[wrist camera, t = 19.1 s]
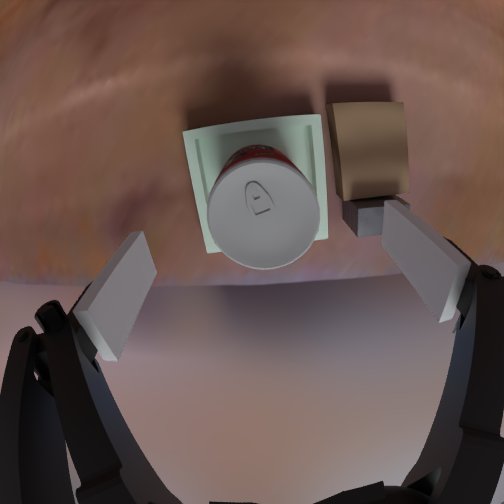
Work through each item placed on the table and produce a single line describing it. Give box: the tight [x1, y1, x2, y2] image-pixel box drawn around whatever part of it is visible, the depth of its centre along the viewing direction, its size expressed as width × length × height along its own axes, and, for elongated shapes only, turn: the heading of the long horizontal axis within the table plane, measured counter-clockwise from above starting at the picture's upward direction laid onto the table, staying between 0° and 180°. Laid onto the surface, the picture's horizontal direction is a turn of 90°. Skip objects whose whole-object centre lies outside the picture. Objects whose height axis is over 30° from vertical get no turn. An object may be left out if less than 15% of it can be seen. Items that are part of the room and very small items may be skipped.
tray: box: [183, 114, 328, 253], centre depth 27 cm, size 13×13×2 cm
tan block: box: [325, 102, 409, 201], centre depth 25 cm, size 10×8×3 cm
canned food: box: [207, 144, 320, 270], centre depth 23 cm, size 8×8×11 cm
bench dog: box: [343, 194, 410, 237], centre depth 27 cm, size 3×6×5 cm, turn 98°
